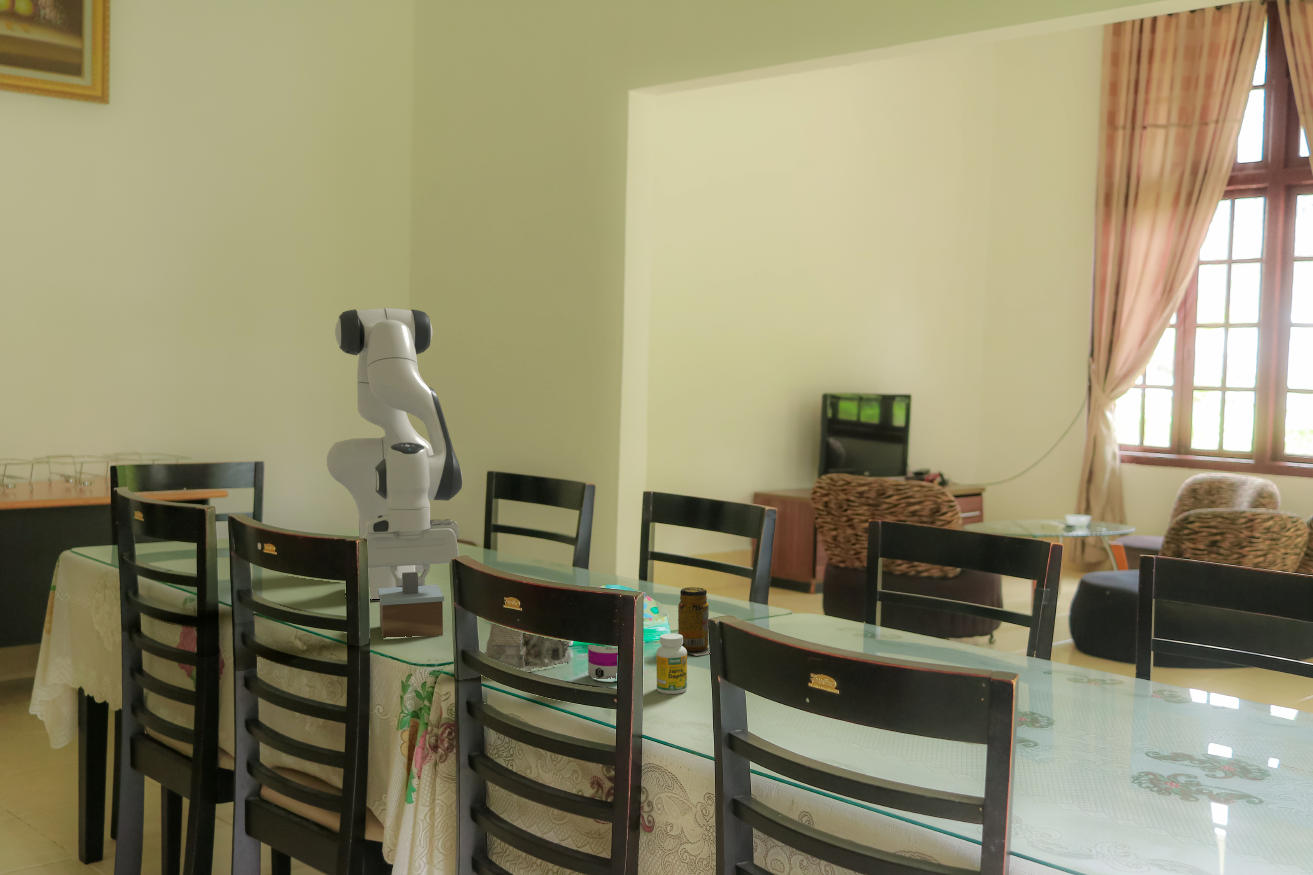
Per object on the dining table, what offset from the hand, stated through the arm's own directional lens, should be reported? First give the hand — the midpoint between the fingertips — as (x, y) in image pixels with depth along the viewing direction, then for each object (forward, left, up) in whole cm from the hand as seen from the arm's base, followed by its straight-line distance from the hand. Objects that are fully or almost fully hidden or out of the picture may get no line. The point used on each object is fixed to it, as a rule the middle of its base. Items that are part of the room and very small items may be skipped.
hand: (410, 586), depth 225 cm
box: (0, 0, -10) cm, 10 cm away
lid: (0, 0, -2) cm, 2 cm away
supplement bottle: (+54, +40, -10) cm, 68 cm away
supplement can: (+43, +32, -10) cm, 55 cm away
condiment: (+30, +53, -11) cm, 62 cm away
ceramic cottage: (+30, +19, -11) cm, 37 cm away
